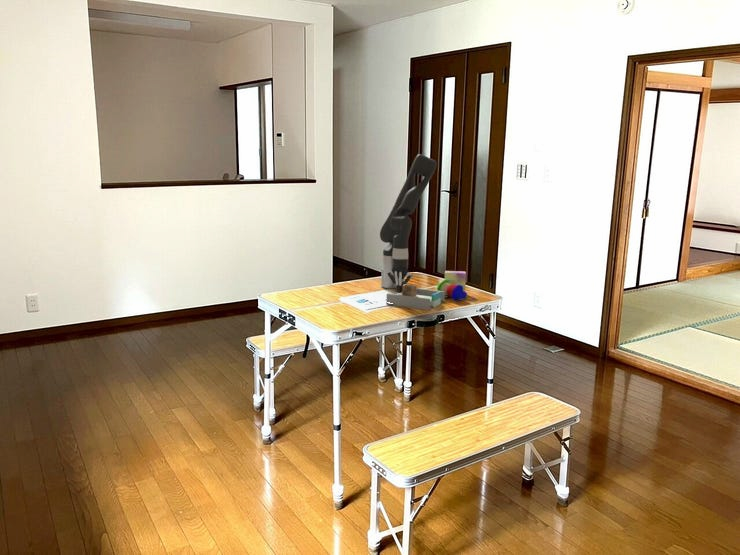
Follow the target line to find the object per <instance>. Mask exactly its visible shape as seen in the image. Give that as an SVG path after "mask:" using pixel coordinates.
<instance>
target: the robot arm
mask: <svg viewBox="0 0 740 555" xmlns="http://www.w3.org/2000/svg"><path fill="white" fill-rule="evenodd" d="M437 165H438V164H437V161H436V160H434V159H432V158H430V157H428V156H426V155H425V154H422V153H417V155H416V156H415V157H414V160H413V162H412V164H411V167H410V169H409V172H408V174H407V177H406V180H405V182H404V183H403V186H402V187H401V190H400V192H398V193H399V194H398V196H397V198H396V200H395V202H394V204H393V207H392V209H391V211H390V212H389V215H388V216H387V218H386V219H385V222H384V223H383V225H382V226H381V229H380V231H379V238H380V241H381V242H383V243H386V244H387V243H389V244H388V245H387V247H385V248H384V249H383V250H382V268H381V279H380V280H381V281H380V282H381V283H380V286H381V288H385V289H396V294H397V293H402V286H404V285H407V283H409V281H410V280H411V279H412V277H413V274H412V273H410V272H409V237H410V235H411V234H410V233H411V230H412V226H413V221H412V218H410V215H412V214H413V213H414V212H415V210H416V207H417V205H418V203H419V201H420V199H421V197H422V194H424V191H425V189H427V186H428V184H429V183H430V181H431V179H432V177H433V175H434V173H435V171H436V169H437ZM416 174H417V175H419V176H422V177H423V179H422V180H421V182H419V183H417V185H416V181H415V180H416Z"/></svg>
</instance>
